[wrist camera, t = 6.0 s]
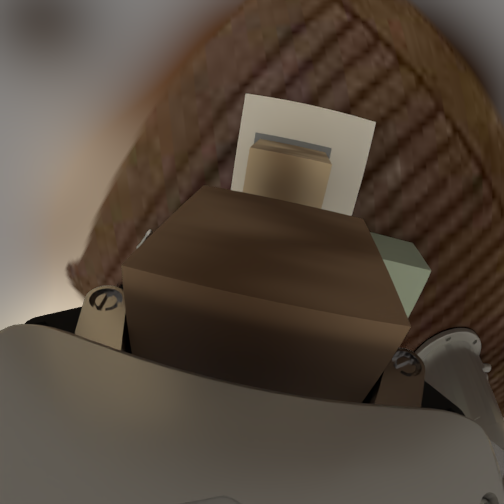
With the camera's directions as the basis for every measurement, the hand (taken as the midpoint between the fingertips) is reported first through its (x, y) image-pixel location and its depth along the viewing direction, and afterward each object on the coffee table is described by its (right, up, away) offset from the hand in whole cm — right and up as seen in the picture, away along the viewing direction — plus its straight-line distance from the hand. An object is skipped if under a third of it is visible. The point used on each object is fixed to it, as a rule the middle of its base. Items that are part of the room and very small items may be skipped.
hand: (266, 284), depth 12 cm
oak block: (+3, +8, +16) cm, 18 cm away
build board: (+4, +9, +17) cm, 19 cm away
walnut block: (0, 0, +1) cm, 1 cm away
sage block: (+13, 0, +20) cm, 24 cm away
